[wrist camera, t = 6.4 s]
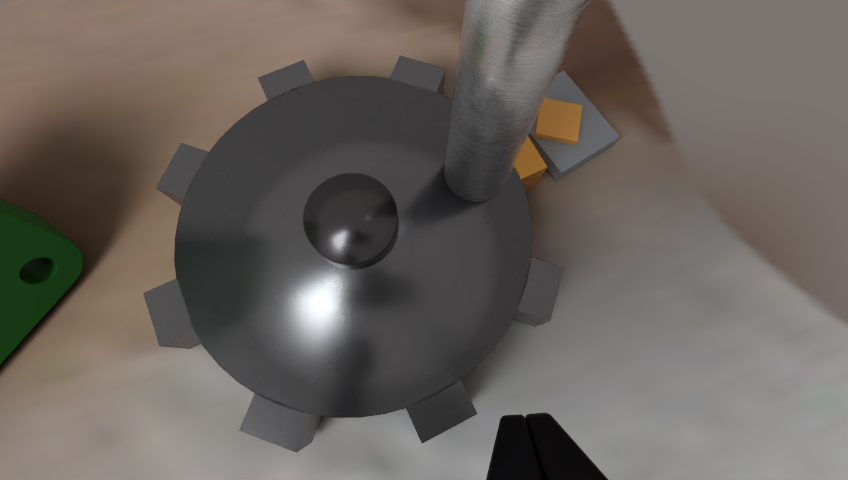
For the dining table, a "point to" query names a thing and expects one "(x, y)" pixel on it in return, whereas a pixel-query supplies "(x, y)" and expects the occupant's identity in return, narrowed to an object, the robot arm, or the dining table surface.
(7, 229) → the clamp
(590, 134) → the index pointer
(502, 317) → the sprocket
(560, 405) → the dining table surface
